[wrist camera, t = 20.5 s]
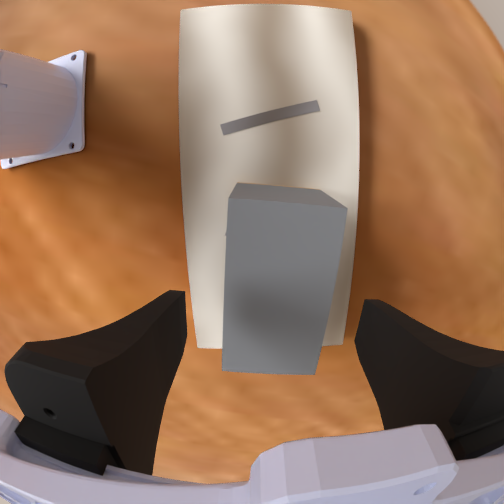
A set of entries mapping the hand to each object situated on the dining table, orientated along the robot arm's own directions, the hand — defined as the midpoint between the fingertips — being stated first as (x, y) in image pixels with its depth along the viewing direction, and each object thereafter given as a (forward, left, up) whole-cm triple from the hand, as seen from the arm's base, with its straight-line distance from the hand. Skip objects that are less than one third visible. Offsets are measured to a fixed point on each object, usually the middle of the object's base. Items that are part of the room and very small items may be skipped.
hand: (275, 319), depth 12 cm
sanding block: (0, 0, -8) cm, 8 cm away
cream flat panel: (0, +4, -9) cm, 10 cm away
